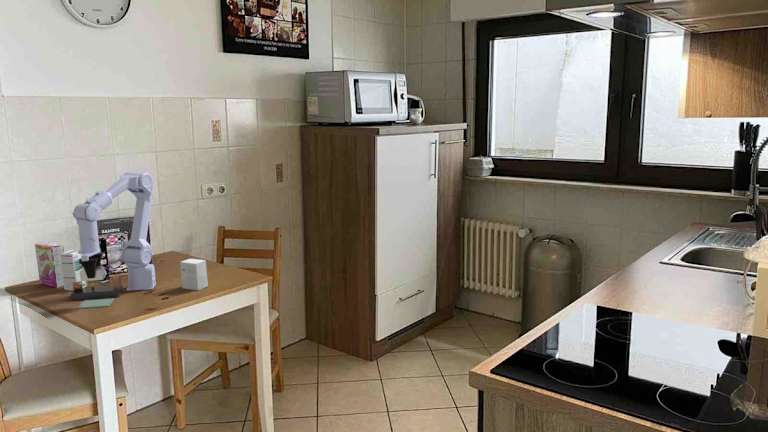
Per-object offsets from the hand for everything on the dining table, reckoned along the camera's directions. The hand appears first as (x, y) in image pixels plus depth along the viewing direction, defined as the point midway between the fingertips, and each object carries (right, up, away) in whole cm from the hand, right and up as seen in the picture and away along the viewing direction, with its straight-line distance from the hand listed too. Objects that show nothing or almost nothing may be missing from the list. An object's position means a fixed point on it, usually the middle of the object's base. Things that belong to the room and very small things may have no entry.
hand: (93, 276), depth 203 cm
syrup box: (-17, -7, +21) cm, 28 cm away
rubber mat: (0, -10, +2) cm, 10 cm away
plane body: (-4, -8, +11) cm, 14 cm away
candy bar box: (-28, -6, +25) cm, 38 cm away
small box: (+29, -7, +20) cm, 36 cm away
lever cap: (0, -1, 0) cm, 1 cm away
